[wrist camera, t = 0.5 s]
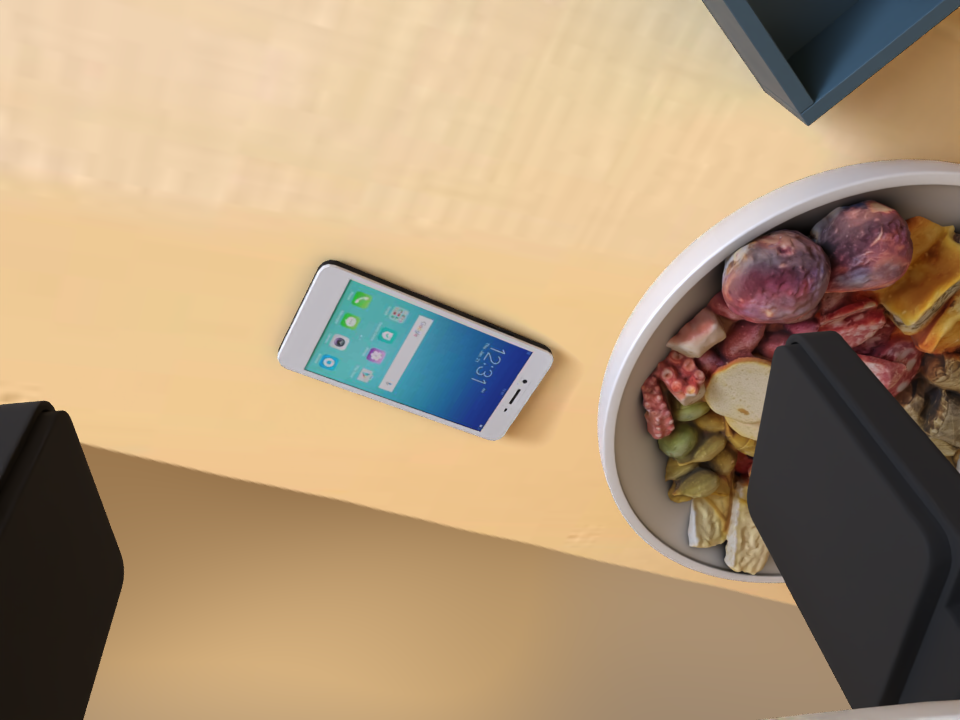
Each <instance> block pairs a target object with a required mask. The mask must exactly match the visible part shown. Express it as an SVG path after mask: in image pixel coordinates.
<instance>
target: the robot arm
mask: <svg viewBox="0 0 960 720" xmlns="http://www.w3.org/2000/svg"><path fill="white" fill-rule="evenodd" d="M747 505H748V510H749V514H750V516H751V519H752V521H753V523H754V524H755V526H756V528H757V530H758V532H759V534H760V536H761V538H762V540H763V541H764V543H765V545H766V547H767V549H768V551H769V553H770V555H771V557H772V558H773V560H774V562H775V564H776V566H777V568H778V570H779V572H780V574H781V575H782V577H783V579H784V581H785V583H786V585H787V587H788V589H789V591H790V592H791V594H792V596H793V598H794V600H795V602H796V604H797V606H798V608H799V609H800V611H801V613H802V615H803V617H804V619H805V621H806V622H807V625H808V627H809V628H810V630H811V632H812V634H813V636H814V638H815V640H816V642H817V643H818V645H819V647H820V649H821V651H822V653H823V655H824V657H825V659H826V661H827V662H828V664H829V666H830V668H831V670H832V672H833V674H834V676H835V678H836V679H837V681H838V683H839V685H840V687H841V689H842V691H843V693H844V695H845V696H846V698H847V700H848V702H849V704H850V706H851V708H852V709H851V710H841V711H831V712H822V713H812V714H802V715H794V716H785V717H777V718H769V719H760V720H960V473H959V472H958V471H957V470H956V468H955V467H954V466H953V465H952V464H951V463H950V461H949V460H948V459H947V458H946V457H945V456H944V455H943V453H942V452H941V451H940V450H939V449H938V448H937V446H936V445H935V444H934V443H933V442H932V441H931V439H930V438H929V437H928V436H927V435H926V434H925V432H924V431H923V430H922V429H921V428H920V427H919V426H918V424H917V423H916V422H915V421H914V420H913V419H912V417H911V416H910V415H909V414H908V413H907V412H906V410H905V409H904V408H903V407H902V406H901V405H900V404H899V402H898V401H897V400H896V399H895V398H894V397H893V395H892V394H891V393H890V392H889V391H888V390H887V388H886V387H885V386H884V385H883V384H882V383H881V381H880V380H879V379H878V378H877V377H876V376H875V375H874V373H873V372H872V371H871V370H870V369H869V368H868V366H867V365H866V364H865V363H864V362H863V361H862V359H861V358H860V357H859V356H858V355H857V354H856V352H855V351H854V350H853V349H852V348H851V347H850V346H849V344H848V343H847V342H846V341H845V340H844V339H843V337H842V336H841V335H840V334H838V333H837V332H836V331H820V332H809V333H798V334H792V335H791V336H789V338H788V339H787V341H786V344H785V345H782V346H778V347H777V348H776V349H775V351H774V354H773V358H772V363H771V369H770V374H769V379H768V384H767V390H766V395H765V400H764V405H763V411H762V416H761V421H760V426H759V432H758V437H757V442H756V447H755V453H754V458H753V463H752V468H751V474H750V479H749V484H748V489H747ZM123 578H124V566H123V560H122V556H121V553H120V550H119V547H118V545H117V542H116V539H115V537H114V534H113V531H112V529H111V526H110V523H109V520H108V518H107V515H106V512H105V510H104V507H103V504H102V501H101V499H100V496H99V494H98V491H97V488H96V485H95V483H94V480H93V477H92V475H91V472H90V469H89V466H88V464H87V461H86V458H85V455H84V453H83V450H82V448H81V445H80V442H79V439H78V436H77V434H76V431H75V428H74V426H73V423H72V420H71V418H70V416H69V414H68V413H67V412H66V411H63V410H62V411H55V409H54V407H53V406H52V405H51V404H50V403H49V402H47V401H36V402H25V403H14V404H3V405H0V720H83V718H84V715H85V711H86V708H87V704H88V701H89V698H90V694H91V691H92V688H93V684H94V681H95V677H96V673H97V670H98V667H99V664H100V660H101V657H102V653H103V650H104V646H105V643H106V639H107V636H108V633H109V630H110V626H111V622H112V619H113V616H114V612H115V609H116V606H117V602H118V599H119V595H120V592H121V589H122V584H123Z"/></svg>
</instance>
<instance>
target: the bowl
mask: <svg viewBox="0 0 960 720" xmlns="http://www.w3.org/2000/svg"><path fill="white" fill-rule="evenodd" d="M820 331H836V332H837V333H838V334H840V335H841V336H842V337H843V339H844V340H845V341H846V342H847V343H848V344H849V346H850V347H851V348H852V349H853V350H854V351H855V352H856V354H857V355H858V356H859V357H860V358H861V359H862V361H863V362H864V363H865V364H866V365H867V366H868V368H869V369H870V370H871V371H872V372H873V373H874V375H875V376H876V377H877V378H878V379H879V380H880V381H881V383H882V384H883V385H884V386H885V387H886V388H887V390H888V391H889V392H890V393H891V394H892V395H893V397H894V398H895V399H896V400H897V401H898V402H899V404H900V405H901V406H902V407H903V408H904V409H905V410H906V412H907V413H908V414H909V415H910V416H911V417H912V419H913V420H914V421H915V422H916V423H917V424H918V426H919V427H920V428H921V429H922V430H923V431H924V432H925V434H926V435H927V436H928V437H929V438H930V439H931V441H932V442H933V443H934V444H935V445H936V446H937V448H938V449H939V450H940V451H941V452H942V453H943V455H944V456H945V457H946V458H947V459H948V460H949V461H950V463H951V464H952V465H953V466H954V467H955V468H956V470H957V471H958V472H959V473H960V164H957V163H951V162H944V161H936V160H921V159H898V160H882V161H875V162H867V163H860V164H854V165H849V166H844V167H840V168H836V169H832V170H828V171H824V172H821V173H818V174H815V175H811V176H808V177H806V178H803V179H800V180H798V181H795V182H792V183H790V184H787V185H785V186H783V187H780V188H778V189H776V190H773V191H771V192H769V193H767V194H765V195H763V196H761V197H759V198H757V199H755V200H753V201H752V202H750V203H748V204H746V205H745V206H743V207H741V208H739V209H738V210H736V211H735V212H733V213H732V214H730V215H728V216H727V217H725V218H724V219H722V220H721V221H720V222H718V223H717V224H715V225H714V226H713V227H711V228H710V229H708V230H707V231H706V232H705V233H703V234H702V235H701V236H700V237H698V238H697V239H696V240H695V241H694V242H692V243H691V244H690V245H689V246H688V247H687V248H686V249H685V250H683V251H682V252H681V253H680V254H679V255H678V256H677V257H676V258H675V259H674V260H673V261H672V262H671V263H670V264H669V265H668V266H667V268H666V269H665V270H664V271H663V272H662V273H661V274H660V275H659V276H658V278H657V279H656V280H655V281H654V283H653V284H652V285H651V286H650V287H649V289H648V290H647V291H646V293H645V294H644V296H643V297H642V298H641V300H640V301H639V302H638V304H637V305H636V307H635V309H634V310H633V312H632V313H631V315H630V317H629V318H628V320H627V322H626V324H625V326H624V327H623V329H622V331H621V333H620V335H619V337H618V340H617V342H616V344H615V346H614V349H613V351H612V354H611V356H610V359H609V362H608V365H607V368H606V371H605V375H604V379H603V383H602V388H601V393H600V399H599V407H598V443H599V451H600V457H601V462H602V466H603V470H604V473H605V477H606V480H607V483H608V486H609V488H610V491H611V494H612V496H613V498H614V501H615V503H616V505H617V507H618V508H619V510H620V512H621V513H622V515H623V517H624V518H625V519H626V521H627V522H628V524H629V525H630V526H631V527H632V528H633V530H634V531H635V532H636V533H637V534H638V535H639V536H640V537H641V538H642V539H643V540H644V541H645V542H646V543H648V544H649V545H650V546H651V547H653V548H654V549H655V550H657V551H658V552H660V553H661V554H663V555H664V556H666V557H667V558H669V559H671V560H673V561H675V562H677V563H679V564H681V565H683V566H685V567H688V568H690V569H692V570H695V571H698V572H701V573H704V574H707V575H711V576H715V577H719V578H724V579H729V580H736V581H743V582H755V583H785V581H784V579H783V577H782V575H781V574H780V572H779V570H778V568H777V566H776V564H775V562H774V560H773V558H772V557H771V555H770V553H769V551H768V549H767V547H766V545H765V543H764V541H763V540H762V538H761V536H760V534H759V532H758V530H757V528H756V526H755V524H754V523H753V521H752V519H751V516H750V514H749V510H748V505H747V489H748V484H749V479H750V474H751V468H752V463H753V458H754V453H755V447H756V442H757V437H758V432H759V426H760V421H761V416H762V411H763V405H764V400H765V395H766V390H767V384H768V379H769V374H770V369H771V363H772V358H773V354H774V351H775V349H776V348H777V347H778V346H782V345H785V344H786V341H787V339H788V338H789V336H791V335H792V334H798V333H809V332H820Z"/></svg>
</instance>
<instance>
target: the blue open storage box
mask: <svg viewBox="0 0 960 720" xmlns="http://www.w3.org/2000/svg"><path fill="white" fill-rule="evenodd" d="M702 1H703V3H704V4H705V6H706V7H707V9H708V10H709V12H710V13H711V14H712V16H713V17H714V19H715V20H716V22H717V23H718V25H719V26H720V28H721V29H722V30H723V32H724V33H725V35H726V36H727V38H728V39H729V41H730V42H731V43H732V45H733V46H734V48H735V49H736V51H737V52H738V54H739V55H740V56H741V58H742V59H743V61H744V62H745V64H746V65H747V67H748V68H749V70H750V71H751V72H752V74H753V75H754V77H755V78H756V80H757V81H758V83H759V84H760V85H761V87H762V88H763V90H764V91H765V92H766V93H767V94H769V95H770V96H771V97H772V98H774V99H775V100H776V101H777V102H779V103H780V104H781V105H782V106H784V107H785V108H786V109H787V110H789V111H790V112H791V113H792V114H794V115H795V116H796V117H797V118H799V119H800V120H801V121H802V122H804V123H805V124H806V125H807V126H809V125H810V124H812V123H813V122H814V121H815V120H817V119H818V118H819V117H821V116H822V115H823V114H824V113H826V112H827V111H828V110H829V109H831V108H832V107H833V106H834V105H836V104H837V103H838V102H840V101H841V100H842V99H843V98H845V97H846V96H847V95H848V94H850V93H851V92H852V91H853V90H855V89H856V88H857V87H858V86H860V85H861V84H862V83H864V82H865V81H866V80H867V79H869V78H870V77H871V76H872V75H874V74H875V73H876V72H877V71H879V70H880V69H881V68H882V67H884V66H885V65H886V64H888V63H889V62H890V61H891V60H893V59H894V58H895V57H896V56H898V55H899V54H900V53H901V52H903V51H904V50H905V49H907V48H908V47H909V46H910V45H912V44H913V43H914V42H915V41H917V40H918V39H919V38H920V37H922V36H923V35H924V34H925V33H927V32H928V31H929V30H931V29H932V28H933V27H934V26H936V25H937V24H938V23H939V22H941V21H942V20H943V19H944V18H946V17H947V16H948V15H950V14H951V13H952V12H953V11H955V10H956V9H957V8H958V7H960V0H702Z"/></svg>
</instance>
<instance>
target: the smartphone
mask: <svg viewBox="0 0 960 720" xmlns="http://www.w3.org/2000/svg"><path fill="white" fill-rule="evenodd" d="M278 360H279V362H280V364H281V366H283V367H284V368H286V369H289V370H291V371H294V372H297V373H300V374H303V375H306V376H308V377H311V378H314V379H317V380H320V381H323V382H325V383H328V384H331V385H334V386H337V387H340V388H343V389H345V390H348V391H351V392H354V393H357V394H360V395H362V396H365V397H368V398H371V399H374V400H377V401H380V402H382V403H385V404H388V405H391V406H394V407H397V408H399V409H402V410H405V411H408V412H411V413H414V414H416V415H419V416H422V417H425V418H428V419H431V420H434V421H436V422H439V423H442V424H445V425H448V426H451V427H453V428H456V429H459V430H462V431H465V432H468V433H471V434H473V435H476V436H479V437H482V438H485V439H488V440H493V441H495V440H498V439H500V438H502V437H503V436H504V434H505V433H506V432H507V430H508V429H509V427H510V426H511V424H512V423H513V421H514V420H515V418H516V417H517V415H518V414H519V412H520V411H521V409H522V408H523V407H524V405H525V404H526V402H527V401H528V399H529V398H530V396H531V395H532V393H533V392H534V390H535V389H536V387H537V386H538V384H539V383H540V381H541V380H542V379H543V377H544V376H545V374H546V373H547V371H548V370H549V368H550V367H551V365H552V362H553V356H552V352H551V350H550V349H549V348H548V347H546V346H545V345H543V344H540V343H538V342H535V341H533V340H530V339H528V338H525V337H523V336H520V335H518V334H516V333H513V332H511V331H508V330H506V329H503V328H501V327H498V326H496V325H493V324H491V323H488V322H486V321H484V320H481V319H479V318H476V317H474V316H471V315H469V314H466V313H464V312H461V311H459V310H456V309H454V308H452V307H449V306H447V305H444V304H442V303H439V302H437V301H434V300H432V299H429V298H427V297H425V296H422V295H420V294H417V293H415V292H412V291H410V290H407V289H405V288H402V287H400V286H397V285H395V284H393V283H390V282H388V281H385V280H383V279H380V278H378V277H375V276H373V275H370V274H368V273H365V272H363V271H361V270H358V269H356V268H353V267H351V266H348V265H346V264H343V263H341V262H338V261H334V260H328V261H325V262H323V263H322V264H321V265H320V266H319V268H318V270H317V272H316V274H315V276H314V278H313V280H312V282H311V284H310V286H309V288H308V290H307V292H306V294H305V296H304V298H303V300H302V302H301V304H300V307H299V309H298V311H297V313H296V315H295V317H294V319H293V321H292V323H291V325H290V327H289V329H288V331H287V333H286V335H285V337H284V339H283V341H282V343H281V346H280V348H279V351H278Z"/></svg>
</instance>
